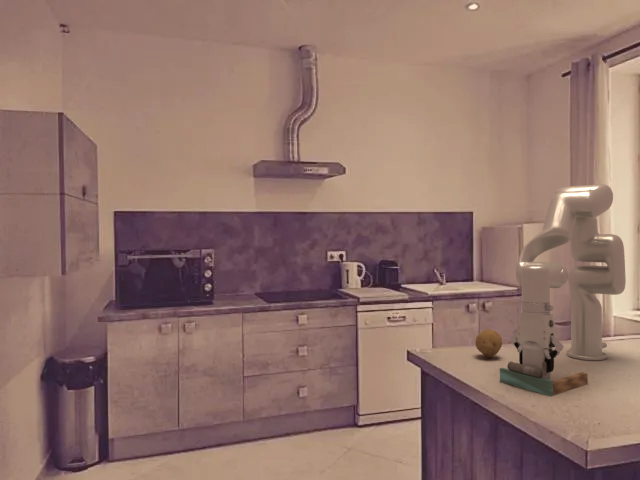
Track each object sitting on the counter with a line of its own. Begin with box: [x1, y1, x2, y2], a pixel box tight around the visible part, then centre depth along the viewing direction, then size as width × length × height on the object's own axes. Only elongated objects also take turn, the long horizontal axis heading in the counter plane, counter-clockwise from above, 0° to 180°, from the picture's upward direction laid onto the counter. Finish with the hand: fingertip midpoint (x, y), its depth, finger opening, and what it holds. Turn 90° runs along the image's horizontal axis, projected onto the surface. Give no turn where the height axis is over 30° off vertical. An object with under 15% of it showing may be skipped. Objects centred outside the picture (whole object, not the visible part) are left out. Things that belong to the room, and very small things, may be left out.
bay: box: [499, 361, 589, 397], centre depth 152 cm, size 19×16×9 cm
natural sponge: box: [475, 328, 503, 359], centre depth 182 cm, size 9×9×10 cm
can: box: [522, 341, 552, 380], centre depth 151 cm, size 8×8×12 cm
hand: (536, 368), depth 151 cm, fingers closed on can, 7 cm apart
